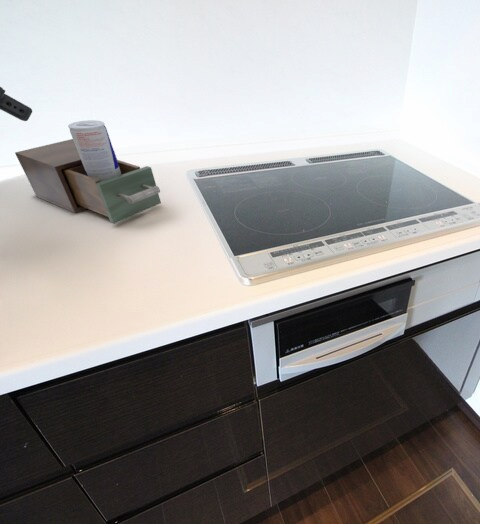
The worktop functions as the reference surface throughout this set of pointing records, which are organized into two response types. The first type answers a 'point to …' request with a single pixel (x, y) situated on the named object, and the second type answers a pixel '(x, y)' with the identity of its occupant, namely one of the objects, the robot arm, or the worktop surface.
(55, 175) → the cabinet
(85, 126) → the beverage can
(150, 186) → the drawer
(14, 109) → the robot arm
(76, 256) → the worktop surface
